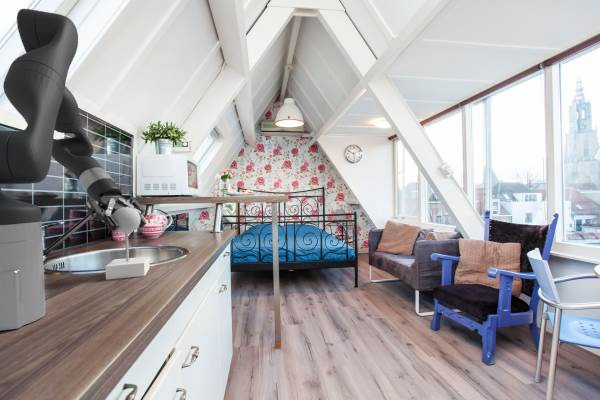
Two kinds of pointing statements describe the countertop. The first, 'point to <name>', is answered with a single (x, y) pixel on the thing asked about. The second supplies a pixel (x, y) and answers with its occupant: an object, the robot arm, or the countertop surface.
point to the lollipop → (127, 223)
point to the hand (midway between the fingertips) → (130, 227)
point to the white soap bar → (127, 268)
